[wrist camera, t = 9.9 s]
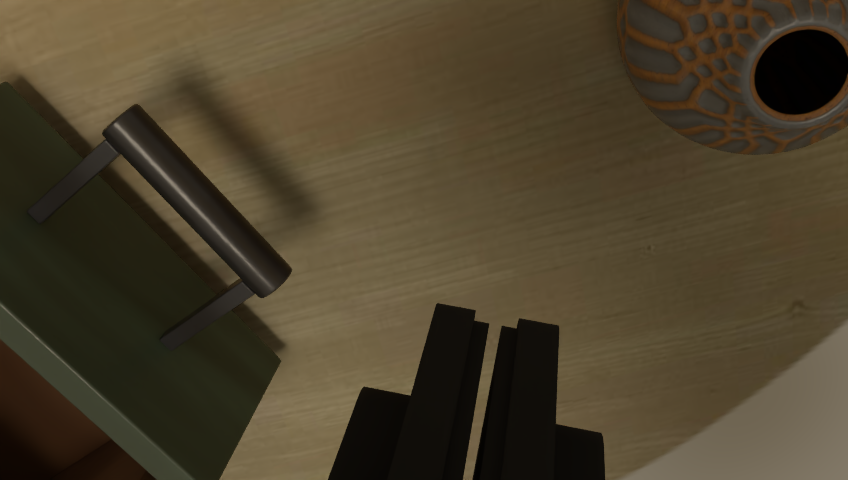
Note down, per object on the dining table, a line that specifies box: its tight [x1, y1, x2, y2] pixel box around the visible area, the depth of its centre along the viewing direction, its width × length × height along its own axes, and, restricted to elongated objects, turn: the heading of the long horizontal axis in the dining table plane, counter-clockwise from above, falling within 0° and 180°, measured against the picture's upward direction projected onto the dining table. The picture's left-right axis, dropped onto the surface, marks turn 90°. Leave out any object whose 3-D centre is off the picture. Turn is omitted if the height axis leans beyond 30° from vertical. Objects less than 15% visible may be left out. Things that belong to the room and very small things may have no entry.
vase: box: [617, 0, 848, 155], centre depth 20 cm, size 7×7×9 cm
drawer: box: [0, 82, 292, 480], centre depth 30 cm, size 22×14×7 cm, turn 129°
